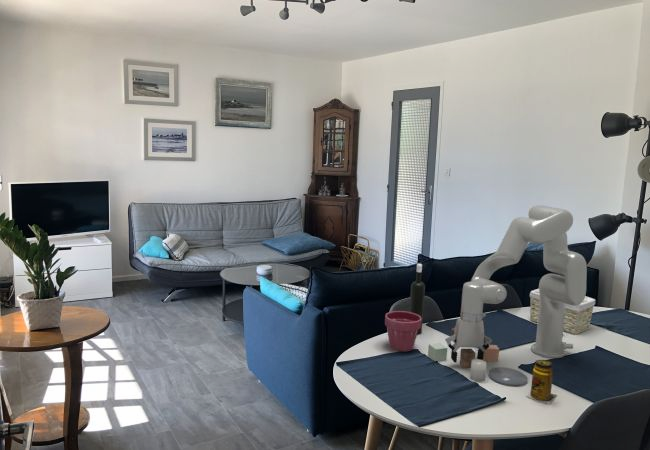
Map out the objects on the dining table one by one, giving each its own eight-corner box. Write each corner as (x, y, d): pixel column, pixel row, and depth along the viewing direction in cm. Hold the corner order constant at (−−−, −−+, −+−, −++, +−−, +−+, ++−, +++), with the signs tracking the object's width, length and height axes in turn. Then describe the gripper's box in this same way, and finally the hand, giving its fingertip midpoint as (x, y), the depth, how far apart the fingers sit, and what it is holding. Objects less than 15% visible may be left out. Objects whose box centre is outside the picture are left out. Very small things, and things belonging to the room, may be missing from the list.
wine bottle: (418, 335, 222) (423, 266, 217) (405, 332, 225) (410, 264, 220) (423, 331, 227) (428, 263, 222) (411, 328, 230) (415, 261, 225)
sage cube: (438, 355, 203) (439, 342, 202) (446, 360, 198) (447, 347, 197) (427, 356, 201) (428, 344, 200) (435, 362, 196) (436, 349, 196)
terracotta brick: (495, 357, 203) (496, 345, 202) (498, 361, 199) (499, 349, 198) (479, 356, 203) (480, 344, 202) (481, 360, 199) (483, 348, 198)
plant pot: (398, 337, 219) (400, 308, 217) (426, 348, 209) (428, 317, 207) (376, 346, 209) (377, 315, 207) (404, 357, 199) (406, 325, 197)
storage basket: (593, 329, 238) (597, 298, 236) (576, 337, 228) (580, 304, 226) (543, 314, 256) (546, 285, 254) (525, 321, 246) (528, 290, 244)
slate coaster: (516, 369, 192) (516, 367, 192) (534, 386, 180) (534, 383, 179) (482, 370, 191) (482, 367, 191) (497, 386, 178) (498, 384, 178)
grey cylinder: (481, 375, 187) (483, 359, 186) (487, 381, 182) (488, 365, 181) (467, 375, 186) (469, 359, 185) (473, 381, 181) (474, 365, 180)
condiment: (525, 397, 172) (529, 362, 170) (534, 388, 178) (538, 354, 176) (548, 404, 167) (552, 369, 165) (557, 395, 174) (561, 361, 172)
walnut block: (470, 363, 196) (471, 348, 195) (474, 368, 192) (475, 352, 191) (459, 363, 195) (460, 348, 194) (463, 368, 192) (464, 352, 191)
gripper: (489, 313, 195) (485, 356, 198) (444, 312, 193) (440, 356, 196) (498, 320, 188) (493, 365, 191) (451, 319, 186) (447, 365, 189)
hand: (466, 361), depth 193 cm, fingers open, 9 cm apart
